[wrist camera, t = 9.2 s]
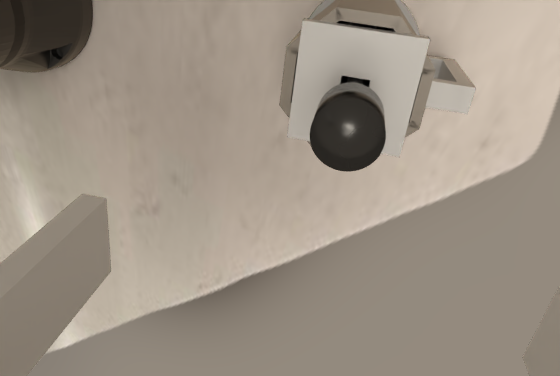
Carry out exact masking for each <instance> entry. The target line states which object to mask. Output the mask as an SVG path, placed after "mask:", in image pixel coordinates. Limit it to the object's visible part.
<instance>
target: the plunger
mask: <svg viewBox="0 0 560 376" xmlns="http://www.w3.org/2000/svg"><path fill="white" fill-rule="evenodd" d="M337 23H339V24H345V25H352V26H359V27H365V28H372V29H379V30H385V31H392V29H391V28H387V27H380V26H373V25H367V24H360V23H353V22H347V21H340V20H339V21H338V22H337ZM392 32H393V31H392ZM369 82H370V80H366V79H360V78H354V77H348V76H342V78H341V84H339V85H337V86H335V87H333V88H331V89H330V90H329V91H327V92H326V93H325V94H324V96H323V97H322V99H321V100H320V102H319V105H318V108H317V110H316V113H315V116H314V119H313V122H312V125H311V128H310V143H311V147H312V149H313V151H314V153H315V155H316V156H317V157H318V158H319V160H320V161H322V162H323V163H324V164H325V165H327V166H329V167H331V168H333V169H336V170H340V171H356V170H360V169H363V168H365V167H367V166H369V165H370V164H372V163H373V162H374V161H375V160H376V159H377V158H378V157H379V155H380V154H381V152H382V150H383V148H384V145H385V140H386V129H385V115H384V107H383V104H382V102H381V100H380V98H379V96H378V95H377V94H376V93H375V92H374V91H373V90H372V89H370V88H369Z"/></svg>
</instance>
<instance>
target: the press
mask: <svg viewBox="0 0 560 376" xmlns="http://www.w3.org/2000/svg"><path fill="white" fill-rule="evenodd" d="M339 20H340V21H347V22H353V23H360V24H367V25H373V26H380V27H387V28H391V29H392V31H393V32H392V31H385V30H379V29H372V28H365V27H359V26H352V25H345V24H339V23H337V22H338V21H339ZM429 42H430V38H429V37H425V36H420V34H419V30H418V26H417V24H416V21H415V19H414V17H413V15H412V13H411V12H410V10H409V9H408V8H407V6H406V5H405V4H404V3H403V2H402V1H401V0H325V1H323V2H322V3H321V4H320V5H319V6H318V7H317V8H316V10H315V11H314V12H313V13H312V15H311V16H310V18H309V19H306V18H304V19H303V21H302V28H301V31H300V32H299V33H298V34H297V35H296V37H295V38H294V39H293V40H292V41H291V42H290V43H289V44H288V45H287V47H286V55H285V63H284V71H283V80H282V88H281V96H280V104H279V105H280V106H281V108H282V109H283V110H284V112H285V113H286V114H287V116H288V117H289V126H288V133H287V137H288V138H293V139H299V140H305V141H307V142H308V143H309V144H310V146H311V143H310V128H311V125H312V122H313V119H314V116H315V113H316V110H317V108H318V105H319V102H320V100H321V99H322V97H323V96H324V94H325V93H326V92H327V91H329V90H330V89H331V88H333V87H335V86H337V85H339V84H341V78H342V76H348V77H354V78H360V79H366V80H370V82H369V88H370V89H372V90H373V91H374V92H375V93H376V94H377V95H378V96H379V98H380V100H381V102H382V104H383V107H384V115H385V129H386V140H385V145H384V148H383V150H382V152H381V154H384V155H390V156H395V157H400V154H401V150H402V146H403V142H404V138H405V137H407V136H408V135H410V134H412V133H413V132H415V131H417V130H418V129H419V128H420V125H421V121H422V117H423V114H424V110H425V107H426V108H432V109H438V110H444V111H450V112H456V113H462V114H468V112H469V109H470V105H471V102H472V99H473V96H474V93H475V90H476V87H475V86H474V85H473V83H472V82H471V81H470V79H469V78H468V77H467V75H466V74H465V73H464V71H463V70H462V69H461V67H460V66H459V65H458V63H457V62H456V61H455V60H454V59H448V58H441V57H435V56H428V55H427V50H428V46H429Z"/></svg>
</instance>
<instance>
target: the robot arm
mask: <svg viewBox="0 0 560 376" xmlns="http://www.w3.org/2000/svg"><path fill="white" fill-rule="evenodd" d="M91 24H92V3H91V0H0V69H6V70H14V71H22V72H42V71H47V70H51V69H54V68H56V67H59V66H62V65H64V64H66V63H68V62H70V61H71V60H72V59H74V58H75V57H76V56H77V55H78V54H79V53H80V51H81V50H82V49H83V47H84V45H85V44H86V41H87V39H88V37H89V33H90V30H91ZM110 272H111V259H110V244H109V230H108V215H107V200H106V198H103V197H97V196H92V195H87V194H81V195H80V196H79V197H78V198H77V199H76V200H74V201H73V202H72V203H71V204H70V205H69V206H67V207H66V208H65V209H64V210H63V211H61V212H60V213H59V214H58V215H57V216H56V217H54V218H53V219H52V220H51V221H50V222H49V223H47V224H46V225H45V226H44V227H43V228H41V229H40V230H39V231H38V232H37V233H36V234H34V235H33V236H32V237H31V238H30V239H29V240H27V241H26V242H25V243H24V244H23V245H22V246H20V247H19V248H18V249H17V250H16V251H14V252H13V253H12V254H11V255H10V256H9V257H7V258H6V259H5V260H4V261H3V262H2V263H0V376H27V375H28V374H29V373H30V371H31V370H32V369H33V368H34V366H35V365H36V364H37V363H38V361H39V360H40V359H41V358H42V356H43V355H44V354H45V353H46V351H47V350H48V349H49V348H50V346H51V345H52V344H53V343H54V342H55V340H56V339H57V338H58V337H59V335H60V334H61V333H62V332H63V330H64V329H65V328H66V327H67V325H68V324H69V323H70V322H71V320H72V319H73V318H74V317H75V315H76V314H77V313H78V312H79V310H80V309H81V308H82V307H83V305H84V304H85V303H86V302H87V300H88V299H89V298H90V297H91V295H92V294H93V293H94V292H95V290H96V289H97V288H98V287H99V286H100V284H101V283H102V282H103V281H104V279H105V278H106V277H107V276H108V274H109V273H110ZM522 358H523V360H524V363H525V366H526V368H527V371H528V374H529V376H560V286H559V287H558V289H557V290H556V292H555V295H554V296H553V298H552V300H551V302H550V304H549V306H548V308H547V310H546V312H545V314H544V316H543V318H542V320H541V322H540V324H539V326H538V328H537V330H536V332H535V334H534V336H533V337H532V339H531V341H530V343H529V346H528V347H527V349H526V351H525V354H524V355H523V357H522Z"/></svg>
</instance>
